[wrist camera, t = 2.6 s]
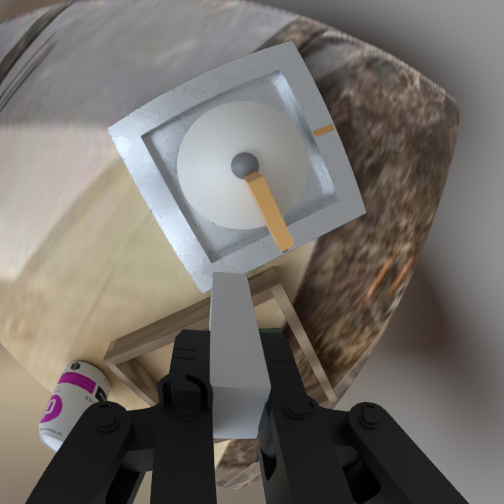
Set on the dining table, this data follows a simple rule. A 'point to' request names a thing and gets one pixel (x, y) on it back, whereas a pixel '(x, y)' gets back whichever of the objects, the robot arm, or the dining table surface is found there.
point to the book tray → (199, 319)
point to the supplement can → (71, 401)
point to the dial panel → (195, 105)
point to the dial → (244, 167)
